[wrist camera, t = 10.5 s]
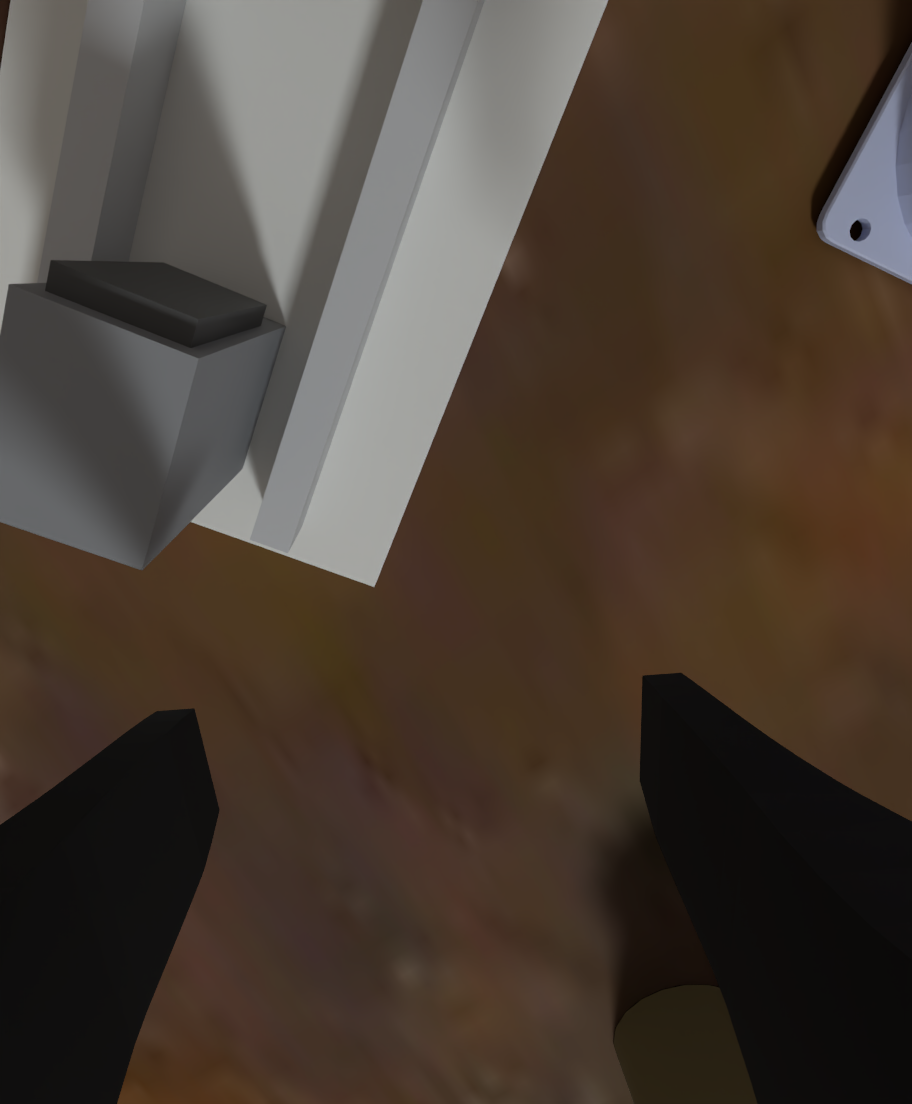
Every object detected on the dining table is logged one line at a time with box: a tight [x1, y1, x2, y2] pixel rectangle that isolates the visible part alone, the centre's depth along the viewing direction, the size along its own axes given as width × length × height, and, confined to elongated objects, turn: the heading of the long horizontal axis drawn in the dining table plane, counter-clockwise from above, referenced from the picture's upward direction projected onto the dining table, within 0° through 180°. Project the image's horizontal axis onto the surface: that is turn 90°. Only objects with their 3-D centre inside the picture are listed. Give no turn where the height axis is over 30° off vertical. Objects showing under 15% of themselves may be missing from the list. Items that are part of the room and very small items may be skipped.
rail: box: [0, 0, 608, 587], centre depth 13 cm, size 12×22×8 cm, turn 158°
